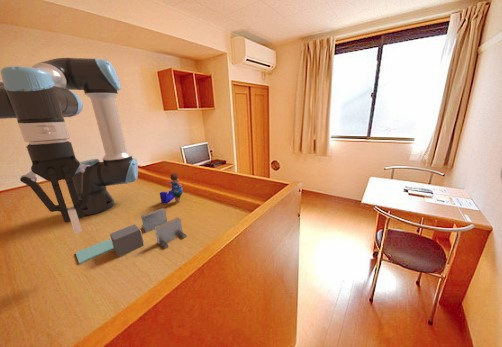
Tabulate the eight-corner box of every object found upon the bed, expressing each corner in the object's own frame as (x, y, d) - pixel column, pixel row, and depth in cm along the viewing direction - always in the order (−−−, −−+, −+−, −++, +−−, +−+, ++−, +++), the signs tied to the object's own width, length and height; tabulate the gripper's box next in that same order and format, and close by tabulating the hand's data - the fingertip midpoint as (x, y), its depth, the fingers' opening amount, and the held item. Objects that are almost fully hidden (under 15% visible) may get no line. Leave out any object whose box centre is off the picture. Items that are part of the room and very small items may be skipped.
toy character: (191, 204, 93) (187, 173, 88) (182, 207, 89) (178, 176, 85) (176, 198, 100) (171, 170, 96) (167, 201, 96) (162, 172, 92)
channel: (141, 227, 74) (138, 213, 72) (162, 219, 80) (159, 205, 78) (164, 249, 61) (160, 232, 60) (187, 237, 67) (184, 221, 65)
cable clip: (172, 194, 105) (170, 184, 104) (180, 195, 105) (178, 184, 103) (158, 204, 94) (156, 192, 92) (167, 204, 93) (165, 193, 92)
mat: (75, 253, 61) (75, 252, 61) (109, 240, 67) (109, 238, 67) (79, 264, 56) (79, 262, 56) (115, 248, 63) (115, 247, 63)
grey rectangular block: (114, 250, 62) (109, 233, 60) (139, 239, 67) (135, 223, 66) (119, 257, 59) (114, 240, 57) (145, 245, 64) (141, 229, 62)
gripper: (4, 146, 39) (44, 248, 45) (87, 139, 48) (110, 225, 54) (7, 144, 44) (42, 236, 50) (82, 138, 53) (103, 217, 59)
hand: (78, 230), depth 52 cm, fingers closed
